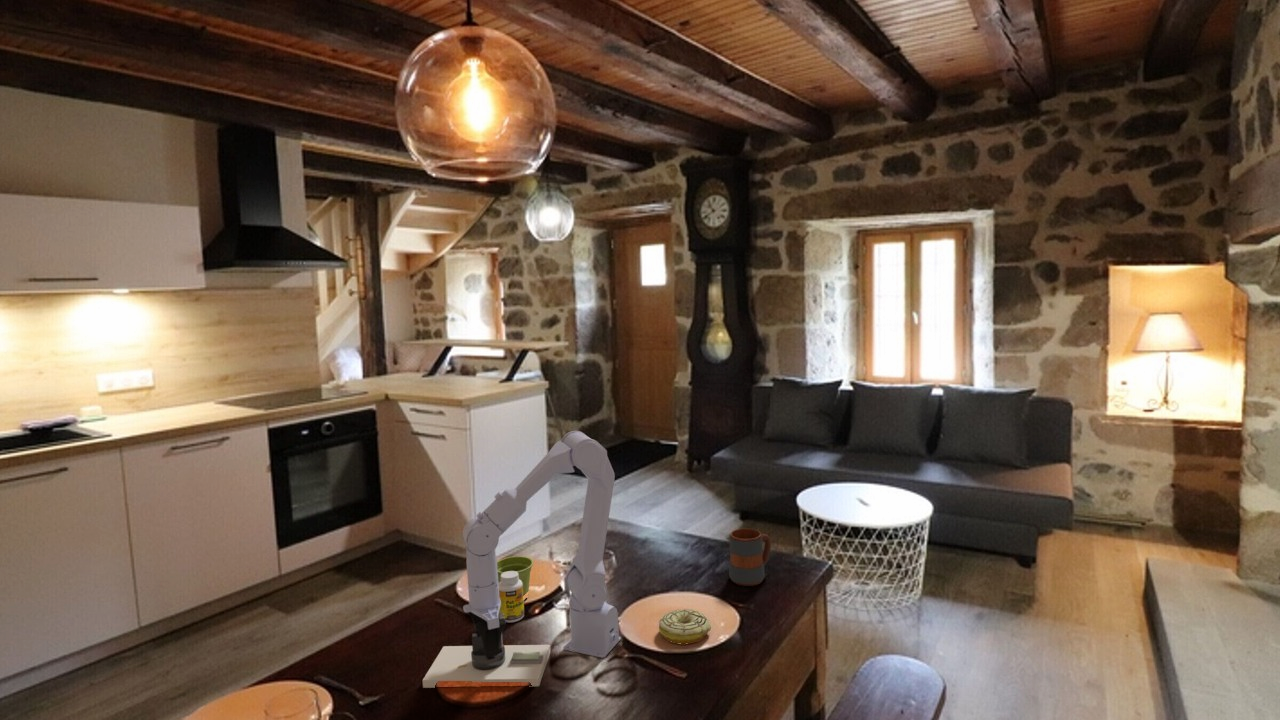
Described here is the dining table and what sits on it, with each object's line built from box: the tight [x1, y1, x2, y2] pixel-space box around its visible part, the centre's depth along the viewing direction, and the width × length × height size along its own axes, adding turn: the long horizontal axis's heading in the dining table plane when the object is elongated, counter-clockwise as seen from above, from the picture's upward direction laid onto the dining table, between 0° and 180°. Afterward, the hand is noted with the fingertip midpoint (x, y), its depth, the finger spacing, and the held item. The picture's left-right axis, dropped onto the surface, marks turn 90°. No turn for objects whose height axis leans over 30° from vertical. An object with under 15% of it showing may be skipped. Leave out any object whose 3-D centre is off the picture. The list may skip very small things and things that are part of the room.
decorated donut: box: [658, 608, 712, 645], centre depth 144 cm, size 10×11×4 cm
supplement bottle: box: [498, 571, 525, 623], centre depth 154 cm, size 6×6×10 cm
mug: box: [728, 528, 772, 587], centre depth 169 cm, size 9×12×12 cm
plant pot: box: [497, 555, 534, 596], centre depth 163 cm, size 9×9×9 cm
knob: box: [471, 632, 505, 670], centre depth 134 cm, size 6×6×6 cm
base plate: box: [422, 644, 551, 689], centre depth 134 cm, size 22×12×4 cm, turn 87°
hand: (487, 647), depth 134 cm, fingers open, 6 cm apart
